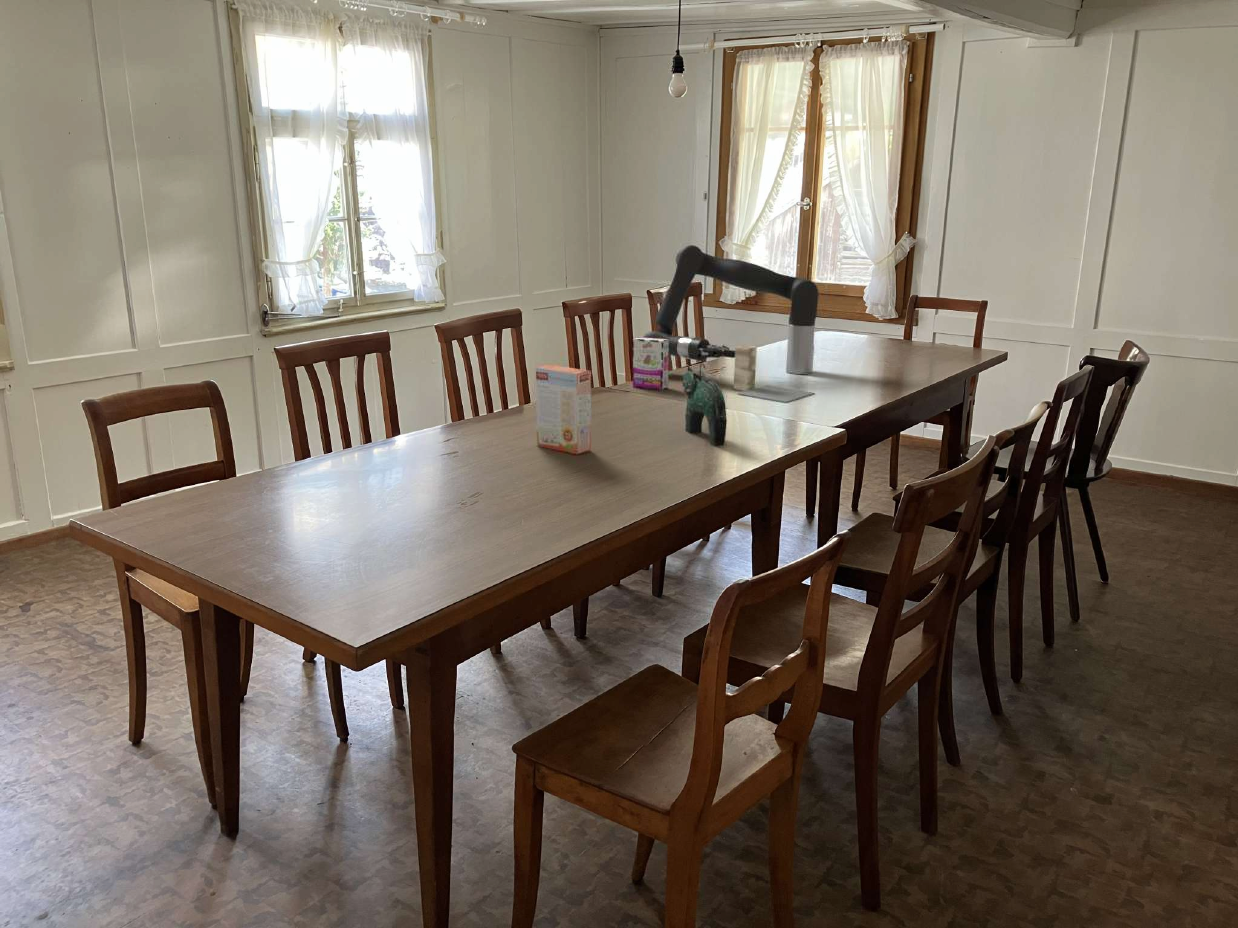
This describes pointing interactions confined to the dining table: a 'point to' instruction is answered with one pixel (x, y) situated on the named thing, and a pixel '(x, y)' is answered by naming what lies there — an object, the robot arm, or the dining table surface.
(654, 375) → the candy bar box
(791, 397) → the slate rubber mat
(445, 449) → the dining table surface
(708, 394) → the green animal figurine
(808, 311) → the robot arm
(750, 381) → the birch block
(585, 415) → the cracker box
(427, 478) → the dining table surface
